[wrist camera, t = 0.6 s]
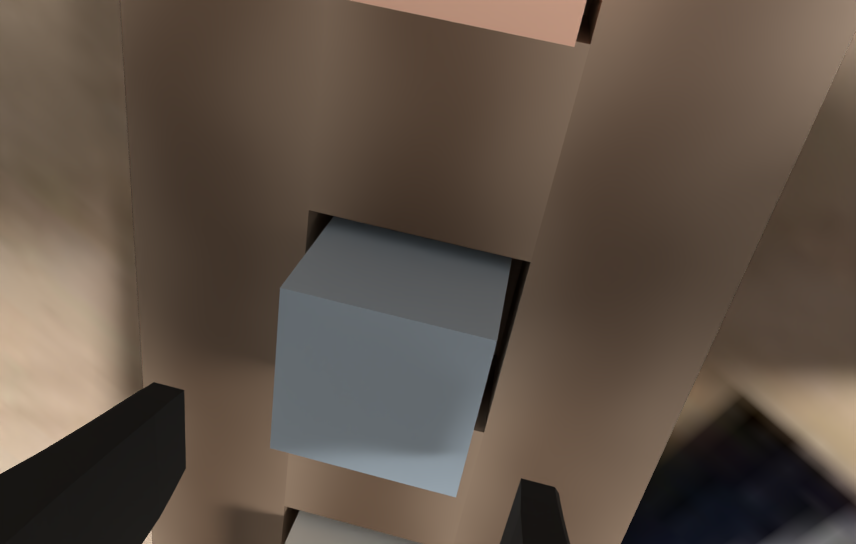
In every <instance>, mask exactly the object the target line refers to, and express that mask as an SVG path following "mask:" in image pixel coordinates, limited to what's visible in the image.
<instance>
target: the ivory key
mask: <svg viewBox="0 0 856 544" xmlns="http://www.w3.org/2000/svg"><path fill="white" fill-rule="evenodd" d="M285 544H422V543H418V542H415V541H411V540H407V539H404V538H400V537H396V536H393V535H389V534H385V533H382V532H378V531H374V530H371V529H367V528H363V527H360V526H356V525H352V524H349V523H345V522H341V521H338V520H334V519H330V518H327V517H323V516H319V515H316V514H312V513H308V512H304V511H301V510H300V511H299V513H298V515H297V517H296V520H295V522H294V524H293V526H292V528H291V531H290V533H289V535H288V537H287V540H286V542H285Z"/></svg>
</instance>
